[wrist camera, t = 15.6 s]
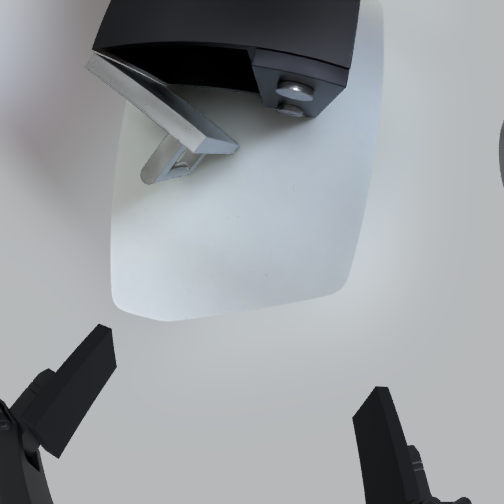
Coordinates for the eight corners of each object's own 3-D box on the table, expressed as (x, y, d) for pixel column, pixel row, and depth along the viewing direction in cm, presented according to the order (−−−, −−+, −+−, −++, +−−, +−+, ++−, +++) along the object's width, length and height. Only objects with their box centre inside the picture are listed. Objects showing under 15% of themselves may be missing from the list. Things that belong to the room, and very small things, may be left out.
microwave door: (205, 185, 37) (150, 210, 20) (136, 125, 35) (54, 117, 18) (240, 145, 35) (207, 137, 18) (165, 87, 32) (94, 52, 16)
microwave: (313, 124, 33) (345, 96, 16) (160, 99, 33) (84, 72, 16) (337, 1, 25) (365, -68, 8) (197, -16, 25) (158, -79, 8)
